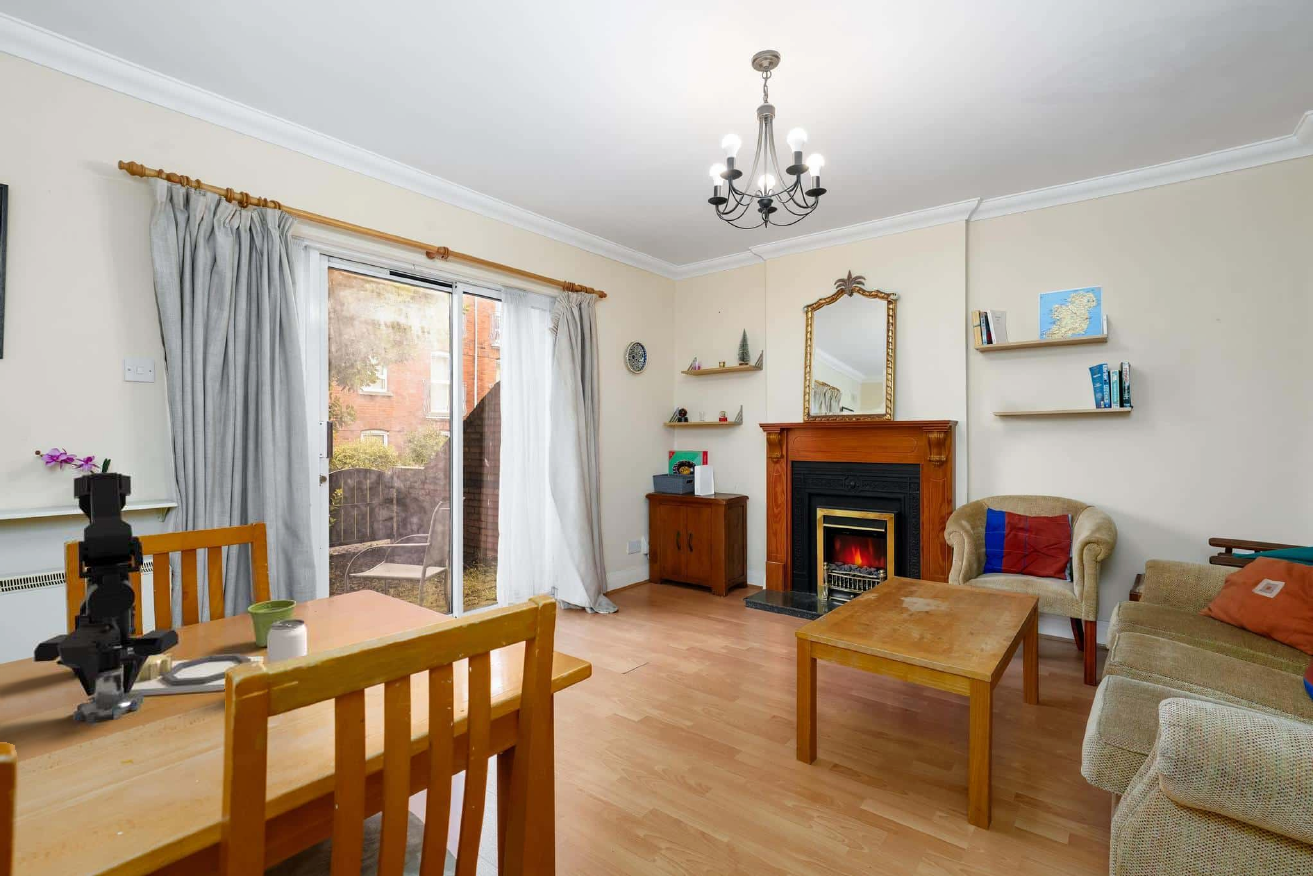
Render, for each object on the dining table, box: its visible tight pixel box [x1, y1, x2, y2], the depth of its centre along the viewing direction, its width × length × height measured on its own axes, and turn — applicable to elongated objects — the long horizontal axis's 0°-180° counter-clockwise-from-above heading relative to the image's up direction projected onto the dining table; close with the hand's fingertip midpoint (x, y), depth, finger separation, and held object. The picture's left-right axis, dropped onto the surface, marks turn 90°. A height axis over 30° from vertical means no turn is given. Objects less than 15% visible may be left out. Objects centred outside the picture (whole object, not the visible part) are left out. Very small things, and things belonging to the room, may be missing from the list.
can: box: [266, 618, 308, 664], centre depth 116 cm, size 6×6×12 cm
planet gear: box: [72, 669, 144, 725], centre depth 105 cm, size 9×9×6 cm
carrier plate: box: [121, 653, 264, 696], centre depth 119 cm, size 22×14×4 cm, turn 101°
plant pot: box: [247, 599, 297, 648], centre depth 139 cm, size 9×9×9 cm
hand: (109, 693), depth 105 cm, fingers open, 5 cm apart
